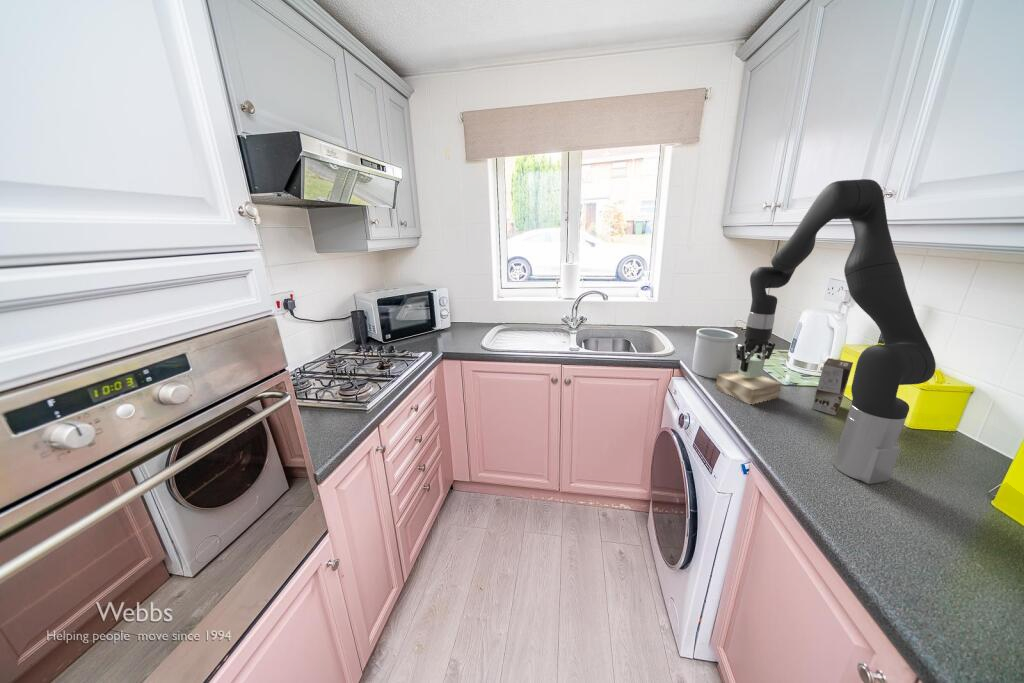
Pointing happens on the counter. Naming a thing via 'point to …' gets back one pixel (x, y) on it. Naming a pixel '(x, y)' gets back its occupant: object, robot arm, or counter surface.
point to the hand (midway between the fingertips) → (750, 370)
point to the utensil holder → (713, 352)
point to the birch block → (748, 387)
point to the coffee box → (832, 385)
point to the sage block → (753, 368)
